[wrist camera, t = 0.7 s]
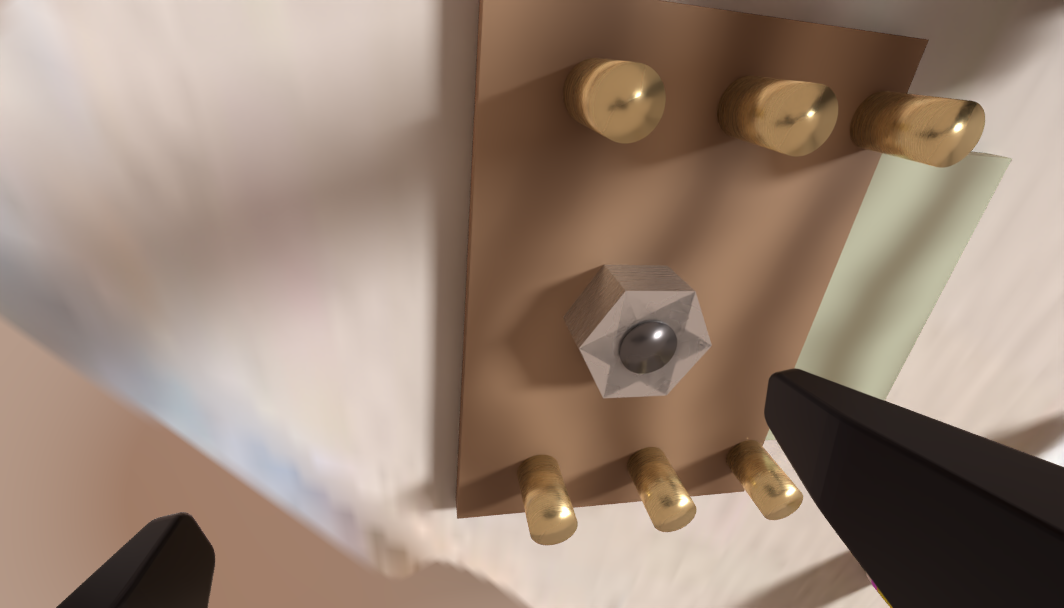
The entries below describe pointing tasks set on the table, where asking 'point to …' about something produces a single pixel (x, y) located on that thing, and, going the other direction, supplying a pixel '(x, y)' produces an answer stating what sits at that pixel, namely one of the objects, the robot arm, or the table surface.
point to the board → (684, 239)
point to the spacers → (771, 122)
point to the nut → (638, 330)
